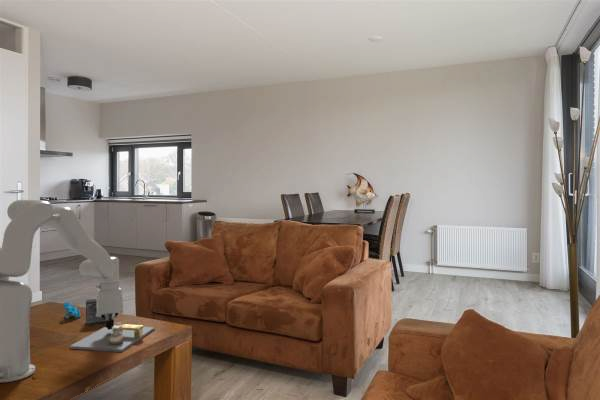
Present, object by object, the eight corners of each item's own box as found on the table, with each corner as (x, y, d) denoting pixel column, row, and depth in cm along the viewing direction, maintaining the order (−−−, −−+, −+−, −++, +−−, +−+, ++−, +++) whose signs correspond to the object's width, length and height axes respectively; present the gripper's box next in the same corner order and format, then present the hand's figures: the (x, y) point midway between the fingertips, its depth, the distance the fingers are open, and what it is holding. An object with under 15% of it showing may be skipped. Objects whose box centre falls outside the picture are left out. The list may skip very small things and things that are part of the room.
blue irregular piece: (77, 317, 201) (62, 302, 201) (67, 326, 200) (52, 312, 200) (85, 313, 212) (71, 299, 212) (76, 322, 211) (61, 308, 211)
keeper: (138, 338, 176) (138, 328, 176) (119, 337, 177) (119, 327, 177) (143, 335, 180) (143, 325, 180) (124, 333, 181) (124, 324, 181)
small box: (111, 318, 205) (111, 296, 205) (111, 322, 199) (110, 300, 199) (86, 321, 201) (86, 299, 201) (85, 325, 195) (85, 302, 195)
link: (122, 343, 169) (122, 331, 169) (109, 345, 168) (109, 332, 168) (124, 327, 188) (124, 316, 188) (112, 328, 187) (112, 317, 186)
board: (121, 352, 164) (121, 349, 164) (69, 348, 167) (69, 345, 167) (154, 329, 190) (154, 327, 190) (108, 326, 193) (108, 324, 193)
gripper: (91, 290, 175) (91, 334, 175) (129, 285, 183) (129, 328, 183) (89, 286, 181) (89, 329, 182) (126, 282, 189) (126, 323, 190)
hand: (109, 328), depth 182 cm, fingers closed
